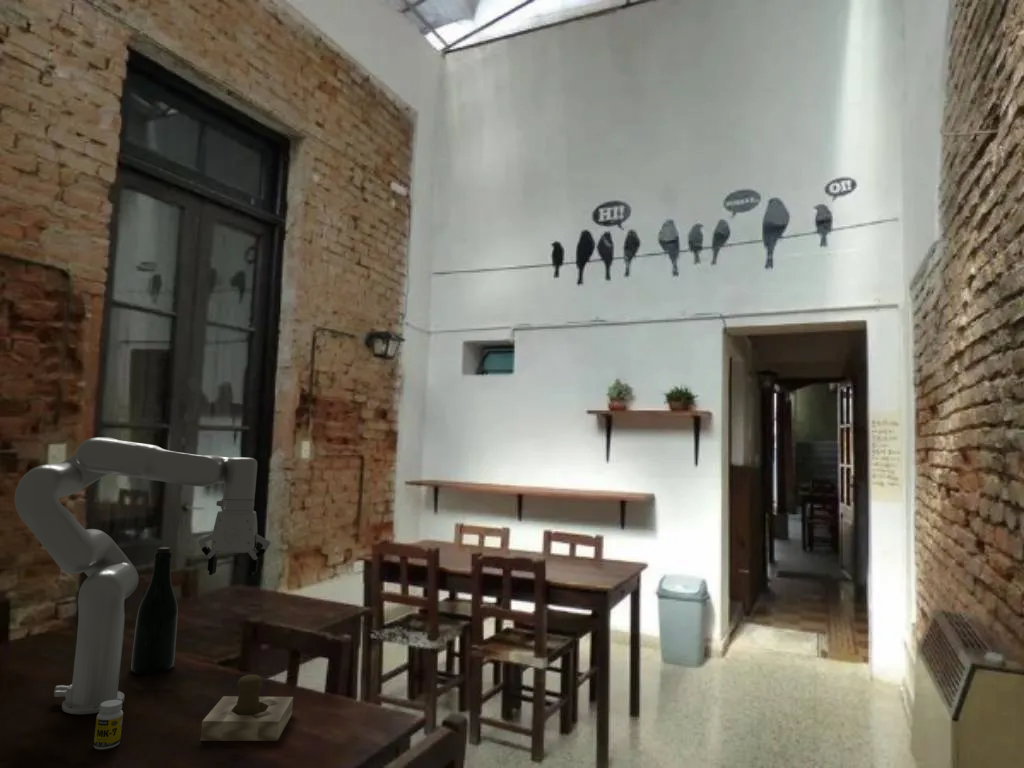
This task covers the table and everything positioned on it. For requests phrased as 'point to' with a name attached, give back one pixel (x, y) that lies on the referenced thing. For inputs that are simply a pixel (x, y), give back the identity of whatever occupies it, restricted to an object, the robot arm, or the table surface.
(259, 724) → the jig
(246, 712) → the cork
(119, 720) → the supplement bottle
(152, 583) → the wine bottle
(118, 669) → the robot arm
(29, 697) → the table surface
